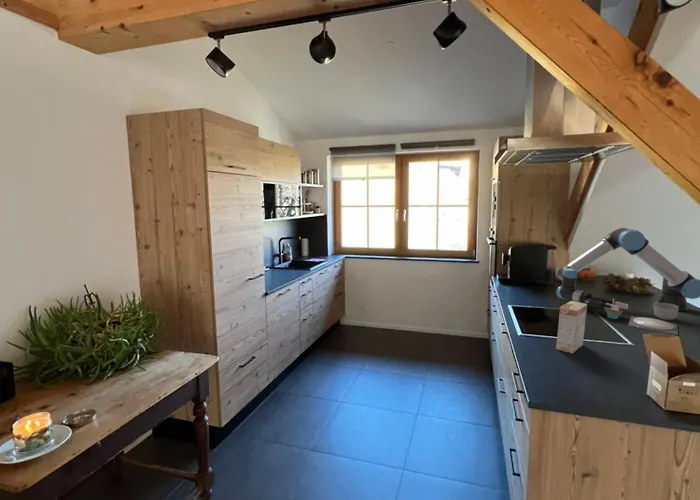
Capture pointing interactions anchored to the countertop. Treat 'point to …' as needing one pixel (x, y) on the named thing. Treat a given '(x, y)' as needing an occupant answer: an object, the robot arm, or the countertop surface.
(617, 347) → the countertop surface
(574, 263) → the robot arm
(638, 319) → the dish
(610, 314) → the cupcake
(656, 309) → the teacup
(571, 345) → the coffeecake box
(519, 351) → the countertop surface
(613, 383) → the countertop surface
